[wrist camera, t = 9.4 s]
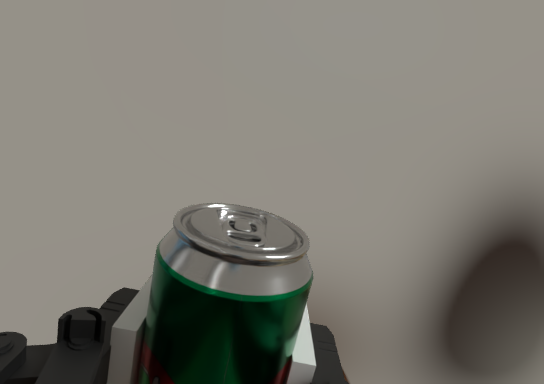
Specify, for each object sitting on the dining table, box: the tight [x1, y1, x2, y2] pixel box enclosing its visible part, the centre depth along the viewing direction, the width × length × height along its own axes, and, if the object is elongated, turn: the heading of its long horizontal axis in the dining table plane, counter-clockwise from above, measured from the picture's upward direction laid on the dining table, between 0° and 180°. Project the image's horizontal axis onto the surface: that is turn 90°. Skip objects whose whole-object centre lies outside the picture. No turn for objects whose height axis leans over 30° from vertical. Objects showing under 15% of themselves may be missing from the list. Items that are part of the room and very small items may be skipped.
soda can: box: [137, 203, 313, 384], centre depth 12 cm, size 5×5×12 cm
